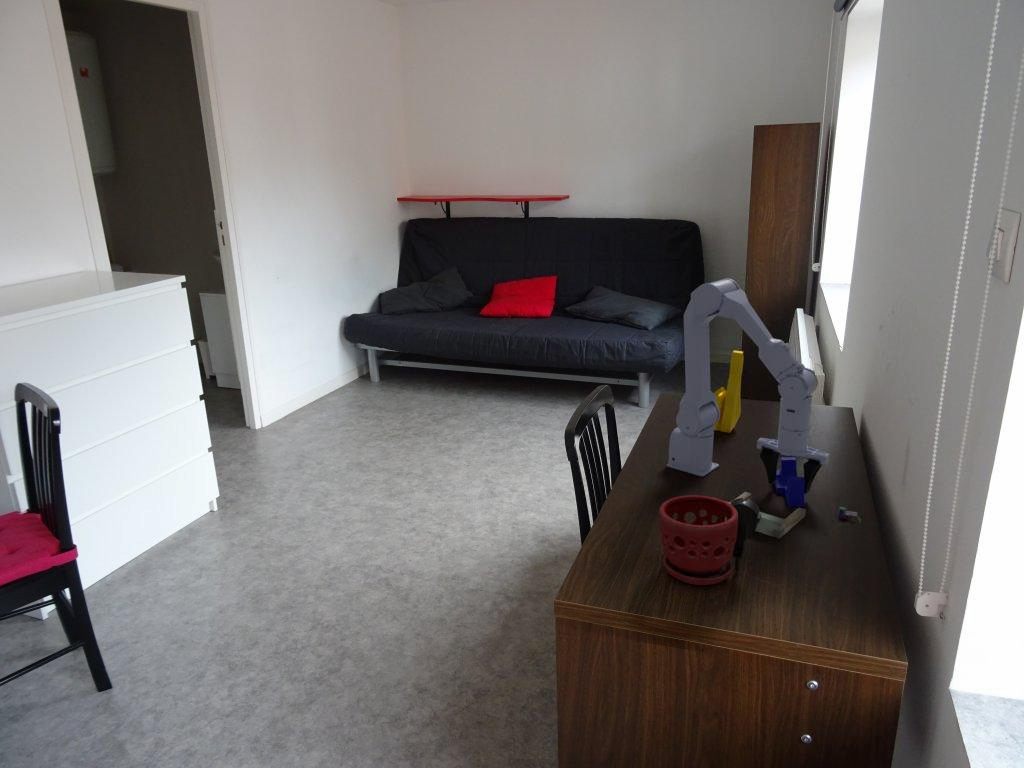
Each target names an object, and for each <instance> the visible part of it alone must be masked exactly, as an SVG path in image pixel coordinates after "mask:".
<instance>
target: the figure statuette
mask: <svg viewBox="0 0 1024 768" xmlns="http://www.w3.org/2000/svg"><path fill="white" fill-rule="evenodd" d="M744 359H745V358H744V351H740V350H733V351H732V352H731V359H730V364H729V365H730V366H729V375H728V376H729V377H728V380H727V384H726V385H727V386H726V389H725V387H723V386H721V387H720V388H718V389H717V390H716V391H715V392H713V394H714V395H715V396H716V403H717V406H718V408H719V411H720V418H719V420H718V422H717V423H716V424H714V431H718V430H719V431H720V432H722V433H729V434H731V433H732V431H733V429H734V428H735V426H736V424H737V422H738V420H739V418H740V417H741V411H742V409H741V405H742V404H741V392H742V391H741V390H742V389H741V385H742V375H743V368H744V367H743V366H744Z"/></svg>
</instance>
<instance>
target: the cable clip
mask: <svg viewBox="0 0 1024 768" xmlns="http://www.w3.org/2000/svg"><path fill="white" fill-rule="evenodd" d="M797 469H798V467H797V457H795V456H792V457H790V456H787V457H782V456H781V457H780V469H777V473H776V480H775V482H774V483H773V485H774V487H775V490H776V494H777V495H779V494H780V495H784V497H785V499H786V503H787V505H788V506H787V507H791V508H792V507H793V508H795V507H796V508H797V507H798V508H801V507H803V508H804V507H805V493H804V485H805V480H804V476H798V471H797Z"/></svg>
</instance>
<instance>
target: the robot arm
mask: <svg viewBox="0 0 1024 768" xmlns="http://www.w3.org/2000/svg"><path fill="white" fill-rule="evenodd" d="M716 317H721V318H722V317H723V318H727V319H732V320H734V321H735V322H736V323H737V324H738V325H739V326H740V327H741V329H742V330H743V331H744V332H745V333H746V334H747V337H748V338H750V339H751V340H752V342H753V343H754V344H755V345H756V346H757V348H758V358H759V359H760V360H761V362H762V363H763V364H764V366H765V367H766V368H767V370H768V371H769V373H770V374H771V375H772V376H773V378H774V379H775V380H776V381H777V382H778V385H777V389H778V390H777V391H778V394H779V396H781V398H782V407H781V418H780V429H779V440H778V439H771V438H765V437H760V438H759V439H757V441H756V449H759V450H761V452H759V458H760V459H761V461H762V463H763V466H764V468H765V469H764V470H765V472H766V476H767V482H768V484H770V485H772V484H774V482H775V480H776V473H777V470H778V469H777V468H778V461H779V457H780V455H782V456H787V457H790V456H792V457H795V458H800V459H802V460H803V459H804V460H808V461H806V462H804V463H803V464H802V468H803V477H804V480H805V485H804V495H805V494H808V493H809V492H810V491H811V487H812V484H813V481H814V480H815V477H816V476H817V474H818V472H819V470H820V469H821V468H822V466H826V465H827V464H829V462H830V453H828V452H824V451H821V450H819V449H816V448H813V447H811V446H808V442H809V434H810V426H811V424H810V423H811V414H812V403H813V402H812V401H813V395H812V394H813V393H815V391H816V390H817V388H818V384H819V379H818V377H817V375H816V373H815V371H814V370H812V369H811V368H808V367H806V366H805V365H804V364H803V363H801V362H800V361H799V360H798V359H797V357H796V356H795V355H794V353H793V352H792V351H791V350H790V349H792V346H791V345H790V344H789V343H788V342H786V343H785V341H783V339H778V338H773V336H772V334H771V333H770V331H769V330H768V328H767V327H766V326H765V324H764V323H763V321H762V320H761V317H759V314H757V312H756V311H755V310H754V307H752V305H751V303H750V301H749V300H748V296H747V294H746V292H745V291H744V290H743V289H742V288H740V286H739V284H738V283H737V282H736V281H735V280H733V279H732V278H727V277H726V278H722V279H720V280H715V281H712V282H706V283H703V284H701V285H698V287H697V288H695V289H694V290H693V291H692V292H691V293H690V301H689V303H688V304H687V307H686V309H685V311H684V314H683V335H684V336H683V337H684V338H683V339H684V341H683V342H684V370H685V371H684V372H685V374H684V375H685V393H684V395H683V396H682V398H681V400H680V401H679V410H678V413H677V414H676V417H675V418H676V419H675V420H676V425H677V427H675V428H674V429H673V431H672V432H671V434H670V437H669V441H668V442H669V443H668V444H669V445H668V463H667V464H666V467H668V468H672V469H675V470H679V471H682V472H686V473H689V474H691V475H695V476H699V477H705V476H706V475H708V474H710V472H712V471H714V470H715V469H717V468H718V467H720V464H719V463H716V462H713V451H714V450H713V449H714V434H715V432H714V431H715V430H714V424H716V423H717V422H718V420H719V418H720V411H719V408H718V406H717V403H716V396H715V395H714V392H712V390H711V356H710V355H711V350H710V346H711V345H710V322H711V321H712V320H713V319H714V318H716Z"/></svg>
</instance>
